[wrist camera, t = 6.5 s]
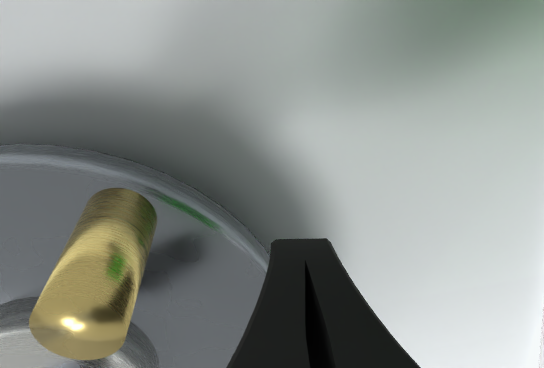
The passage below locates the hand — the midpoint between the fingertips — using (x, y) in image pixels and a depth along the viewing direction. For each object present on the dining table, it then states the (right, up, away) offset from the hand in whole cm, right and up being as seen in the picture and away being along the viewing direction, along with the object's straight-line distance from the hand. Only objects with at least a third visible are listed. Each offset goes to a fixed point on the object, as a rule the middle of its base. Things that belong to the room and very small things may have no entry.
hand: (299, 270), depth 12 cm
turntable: (-8, -3, +6) cm, 11 cm away
